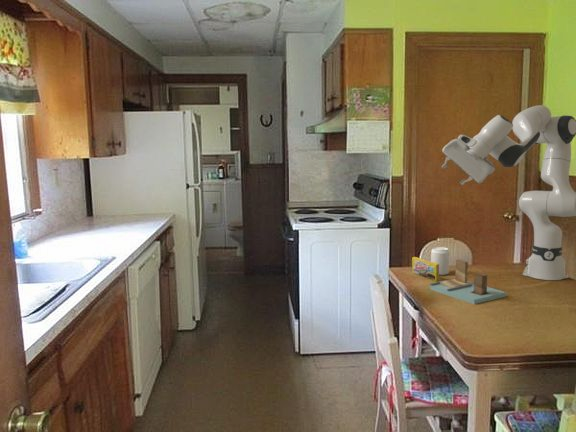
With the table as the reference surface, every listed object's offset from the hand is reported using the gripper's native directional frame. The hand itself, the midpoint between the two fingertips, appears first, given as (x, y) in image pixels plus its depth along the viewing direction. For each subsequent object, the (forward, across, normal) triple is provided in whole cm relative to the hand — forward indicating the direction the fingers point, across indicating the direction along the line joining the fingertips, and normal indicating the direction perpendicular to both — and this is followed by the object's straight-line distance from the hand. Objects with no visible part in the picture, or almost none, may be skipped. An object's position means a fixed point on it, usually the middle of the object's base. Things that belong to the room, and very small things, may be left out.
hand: (451, 175), depth 203 cm
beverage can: (+34, -26, -39) cm, 58 cm away
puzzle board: (+31, -37, -8) cm, 49 cm away
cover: (+31, -32, -12) cm, 46 cm away
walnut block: (+28, -41, -3) cm, 49 cm away
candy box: (+39, -23, -30) cm, 54 cm away
